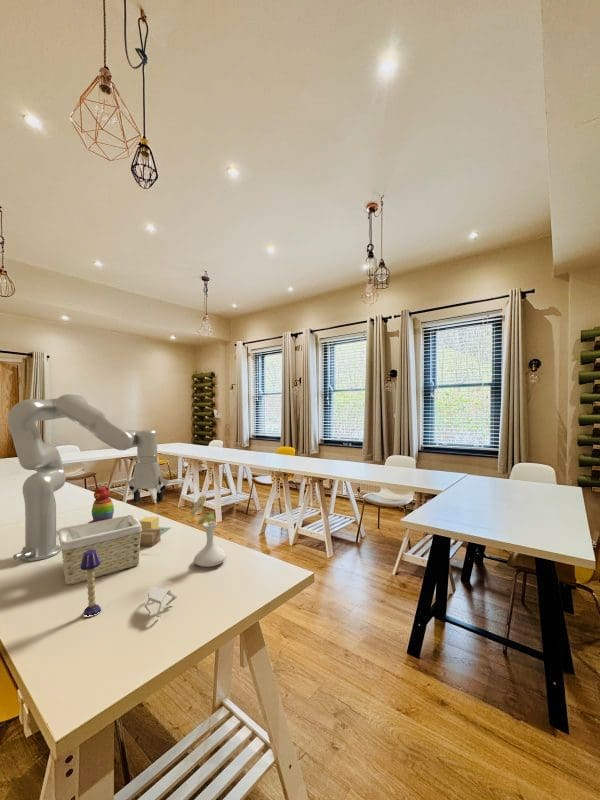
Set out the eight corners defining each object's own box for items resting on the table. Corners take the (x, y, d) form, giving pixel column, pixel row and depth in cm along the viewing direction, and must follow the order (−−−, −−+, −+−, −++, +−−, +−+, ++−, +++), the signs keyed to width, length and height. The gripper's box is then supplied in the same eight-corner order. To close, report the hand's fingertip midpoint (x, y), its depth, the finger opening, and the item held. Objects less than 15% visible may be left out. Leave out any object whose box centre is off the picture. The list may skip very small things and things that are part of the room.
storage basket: (60, 589, 104) (60, 541, 105) (57, 570, 117) (57, 527, 117) (143, 566, 119) (143, 524, 120) (132, 551, 132) (132, 513, 132)
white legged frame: (183, 609, 93) (183, 591, 93) (155, 625, 87) (155, 605, 87) (160, 595, 100) (160, 578, 101) (132, 609, 94) (131, 591, 94)
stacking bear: (84, 526, 161) (84, 489, 161) (102, 519, 170) (102, 484, 171) (102, 528, 158) (102, 490, 158) (119, 521, 167) (119, 485, 168)
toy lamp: (78, 620, 89) (78, 556, 89) (82, 610, 93) (82, 549, 94) (99, 615, 91) (99, 552, 91) (102, 606, 95) (102, 546, 96)
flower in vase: (212, 553, 129) (211, 487, 130) (233, 560, 122) (232, 491, 123) (183, 566, 118) (182, 494, 119) (204, 575, 112) (203, 499, 112)
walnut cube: (152, 549, 133) (152, 534, 134) (138, 549, 134) (138, 533, 134) (160, 543, 139) (160, 528, 140) (146, 543, 140) (146, 528, 140)
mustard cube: (151, 535, 145) (151, 521, 145) (138, 535, 146) (138, 521, 146) (158, 530, 151) (158, 517, 151) (146, 530, 152) (145, 516, 152)
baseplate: (154, 542, 141) (154, 538, 141) (123, 541, 142) (123, 537, 142) (171, 529, 155) (171, 527, 155) (142, 529, 156) (142, 526, 156)
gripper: (122, 461, 137) (122, 504, 136) (163, 461, 135) (163, 504, 135) (133, 458, 144) (133, 499, 144) (171, 458, 142) (172, 499, 142)
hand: (148, 501), depth 139 cm, fingers open, 9 cm apart
